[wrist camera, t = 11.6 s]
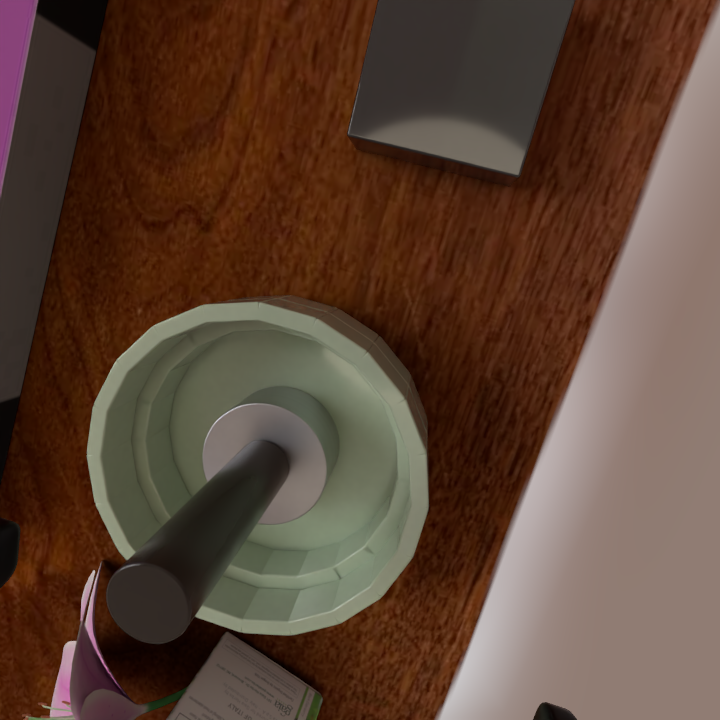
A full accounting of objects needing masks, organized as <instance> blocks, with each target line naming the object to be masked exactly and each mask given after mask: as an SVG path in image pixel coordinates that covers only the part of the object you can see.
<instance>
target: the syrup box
mask: <svg viewBox="0 0 720 720" xmlns="http://www.w3.org/2000/svg"><path fill="white" fill-rule="evenodd" d="M322 701H323V698H322V696H321V694H320V693H319V692H318V691H316V690H315V689H313V688H312V687H310V686H309V685H307V684H306V683H304V682H303V681H301V680H300V679H299V678H297V677H296V676H294V675H293V674H291V673H290V672H288V671H287V670H285V669H284V668H282V667H281V666H279V665H278V664H276V663H275V662H273V661H272V660H270V659H269V658H267V657H266V656H265V655H263V654H261V653H260V652H258V651H257V650H255V649H254V648H252V647H251V646H249V645H248V644H246V643H244V642H243V641H241V640H240V639H238V638H237V637H235V636H234V635H232V634H231V633H229V632H225V633H224V634H223V636H222V637H221V639H220V640H219V642H218V643H217V645H216V646H215V648H214V649H213V651H212V652H211V654H210V655H209V657H208V658H207V659H206V661H205V662H204V664H203V665H202V667H201V668H200V670H199V671H198V673H197V674H196V676H195V677H194V679H193V680H192V682H191V683H190V685H189V686H188V688H187V689H186V691H185V692H184V694H183V695H182V697H181V698H180V700H179V701H178V703H177V704H176V706H175V707H174V709H173V710H172V712H171V713H170V715H169V716H168V718H167V719H166V720H316V719H317V716H318V713H319V710H320V707H321V704H322Z"/></svg>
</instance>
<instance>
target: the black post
mask: <svg viewBox="0 0 720 720" xmlns="http://www.w3.org/2000/svg"><path fill="white" fill-rule="evenodd" d="M339 445H340V444H339V435H338V431H337V428H336V425H335V423H334V421H333V419H332V417H331V415H330V414H329V412H328V411H327V409H326V408H325V407H324V406H323V405H322V404H321V403H320V402H319V401H318V400H316V399H315V398H314V397H312V396H311V395H309V394H307V393H305V392H303V391H301V390H298V389H295V388H291V387H283V386H275V387H268V388H264V389H261V390H258V391H256V392H254V393H252V394H251V395H249V396H248V397H246V398H245V399H244V400H242V401H241V402H239V403H238V404H237V405H235V406H234V407H233V408H231V409H230V410H228V411H227V412H226V413H224V414H223V415H222V416H221V417H220V418H218V419H217V421H216V422H215V423H214V424H213V425H212V427H211V429H210V430H209V432H208V434H207V437H206V439H205V443H204V447H203V469H204V473H205V477H206V480H207V483H206V484H205V485H204V486H203V487H202V488H201V489H200V490H199V491H198V492H197V493H196V494H195V495H194V496H193V497H192V498H191V499H190V500H189V501H188V502H187V503H186V504H185V505H184V506H182V507H181V508H180V509H179V510H178V511H177V512H176V513H175V514H174V515H173V516H172V517H171V518H170V519H169V520H168V521H167V522H166V523H165V524H164V525H163V526H162V527H161V528H160V529H159V530H158V531H157V532H156V533H155V534H154V535H153V536H152V537H151V538H150V539H149V540H148V541H147V542H146V543H144V544H143V545H142V546H141V547H140V548H139V549H138V550H137V551H136V552H135V553H134V554H133V555H132V556H131V557H130V558H129V559H128V560H127V561H126V562H125V563H124V564H123V565H122V566H121V567H120V568H119V569H118V570H117V571H116V572H115V573H114V574H113V575H112V577H111V579H110V581H109V583H108V586H107V591H106V601H107V606H108V609H109V612H110V614H111V616H112V618H113V619H114V621H115V622H116V624H117V625H118V626H119V627H120V628H121V629H122V630H123V631H124V632H125V633H127V634H128V635H130V636H131V637H133V638H135V639H137V640H139V641H142V642H145V643H151V644H162V643H167V642H170V641H172V640H174V639H176V638H178V637H179V636H180V635H182V634H183V633H184V632H185V630H186V629H187V628H188V626H189V625H190V623H191V622H192V620H193V619H194V617H195V616H196V614H197V613H198V611H199V610H200V608H201V607H202V605H203V604H204V602H205V601H206V599H207V598H208V596H209V595H210V593H211V592H212V590H213V589H214V587H215V586H216V584H217V583H218V581H219V580H220V578H221V577H222V575H223V574H224V572H225V571H226V569H227V568H228V566H229V565H230V563H231V562H232V560H233V559H234V557H235V556H236V554H237V553H238V551H239V550H240V548H241V547H242V545H243V544H244V542H245V541H246V539H247V538H248V536H249V535H250V533H251V532H252V531H253V529H254V528H255V526H256V525H257V523H258V524H266V525H276V524H283V523H287V522H290V521H293V520H295V519H298V518H299V517H301V516H303V515H304V514H306V513H307V512H308V511H310V510H311V509H312V507H313V506H314V505H315V504H316V503H317V501H318V500H319V499H320V497H321V495H322V493H323V491H324V489H325V487H326V484H327V482H328V480H329V478H330V476H331V474H332V472H333V470H334V468H335V465H336V463H337V460H338V455H339Z"/></svg>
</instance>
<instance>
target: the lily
mask: <svg viewBox="0 0 720 720" xmlns="http://www.w3.org/2000/svg"><path fill="white" fill-rule="evenodd" d="M101 565H102V562H101ZM101 565H100V567H99V570H98V573H97V576H96V580H95V584H94V587H93V591H92V595H91V599H90V603H89V608H88V613H87V617H86V623H84V621H83V619H84V615H85V610H86V606H87V603H88V599H89V595H90V591H91V587H92V583H93V579H94V574H95V570H93V572H92V573H91V575H90V577H89V579H88V581H87V584H86V586H85V589H84V592H83V596H82V600H81V624H80V628H79V633H78V637H77V642H76V641H69V642H68V643H66V644H65V646H64V649H63V657H62V663H61V667H60V671H59V675H58V678H57V682H56V686H55V690H54V695H53V699H52V705H51V707H48V706H44V705H47V703H38V705H42V706H43V707H44V708H48V709H51V711H50V716H41V718H35V717H30V716H31V714H22V716H23V717H26V718H24V720H134V719H135V718H136V717H138V716H140V715H141V714H143V713H146V712H149V711H151V710H154V709H157V708H160V707H162V706H164V705H167V704H169V703H172V702H174V701H176V700H179V699H180V698H181V697H182V695H183V694H184V692H185V691H186V689H187V688H188V687H186V688H184V689H182V690H181V691H179V692H177V693H174V694H172V695H169V696H167V697H164V698H162V699H159V700H156V701H152V702H149V703H145V704H140V705H138V704H135V703H134V702H133V701H132V700H131V699H130V698H129V697H128V695H127V694H126V693H125V691H124V690H123V689H122V687H121V686H120V684H119V683H118V682H117V680H116V678H115V677H114V675H113V674H112V672H111V670H110V669H109V667H108V665H107V663H106V661H105V659H104V657H103V655H102V653H101V651H100V648H99V645H98V642H97V639H96V632H95V623H94V619H95V604H96V596H97V589H98V582H99V576H100V571H101Z"/></svg>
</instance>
